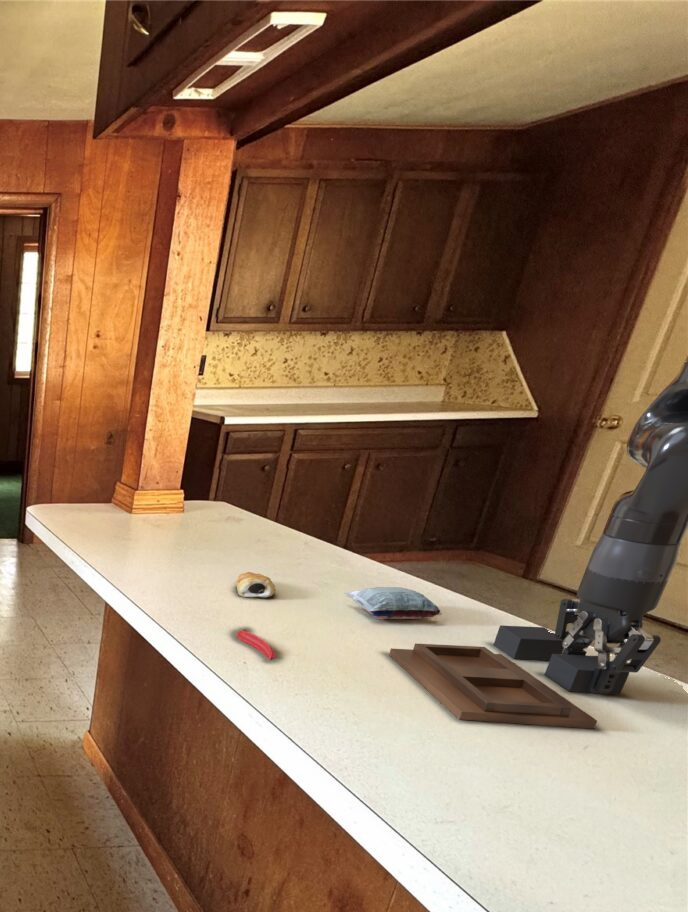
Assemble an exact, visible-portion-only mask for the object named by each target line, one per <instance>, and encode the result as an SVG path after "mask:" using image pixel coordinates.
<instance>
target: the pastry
mask: <svg viewBox="0 0 688 912" xmlns="http://www.w3.org/2000/svg"><path fill="white" fill-rule="evenodd" d="M235 586H236V587H237V589H236V591H237V594H238V595H239V596H241V597H243V598H270V597H272V596H273V595H274V594H275V592H276V585H275V584H274V582H273V581H272V580H271V578H270V577H269V576H266V575H264V574H261V573H255V572H250V571H248V572H243V573H240V574H239V576H238V577H237V578H236V580H235Z"/></svg>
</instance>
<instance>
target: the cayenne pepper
mask: <svg viewBox="0 0 688 912" xmlns="http://www.w3.org/2000/svg"><path fill="white" fill-rule="evenodd" d="M236 638H237V639H238V640H239V641H241V642H242V643H245V644H246V645H249V646H251V647H253V648H254V649H256V650H258V651H259V652H260V653H261V654H263V656H264V657H265V658H267V659H269V660H270V661H271V660H272V659H276V652H275V649H273V648H272V647H271V646H270V645H269V644H268V642H266V641H265V640H264V639H262V638H261V637H259V636H258V635H256V634H254V633H252V632H250V631H247V630H246V629H242V630H240V631H238V632H237V633H236Z"/></svg>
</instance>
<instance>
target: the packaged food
mask: <svg viewBox="0 0 688 912" xmlns="http://www.w3.org/2000/svg"><path fill="white" fill-rule="evenodd" d="M344 595H345V596H346V597H347V598H350V599H351V600H352V601H353V602H354V603H355V604H356V605H358V606H359V607H361V608H362V609H364V610H365V611H367V612H368V613H369V614H370V615H371V616H373V617H374V618H375V619H377V620H415V619H417V620H418V619H419V620H420V619H428V618H434V617H437V616H441V615H442V612H441V610H440V608H439V607H438V606H437V604H435V603H434V602H433V601H432V600H430V598H428V597H427V596H425V595H424V594H422V593H420V592H418V591H416V590H414V589H409V588H406V587H401V586H375V587H367V588H363V589H358V590H354V591H351V592H349V591H347V590H345V591H344Z"/></svg>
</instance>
